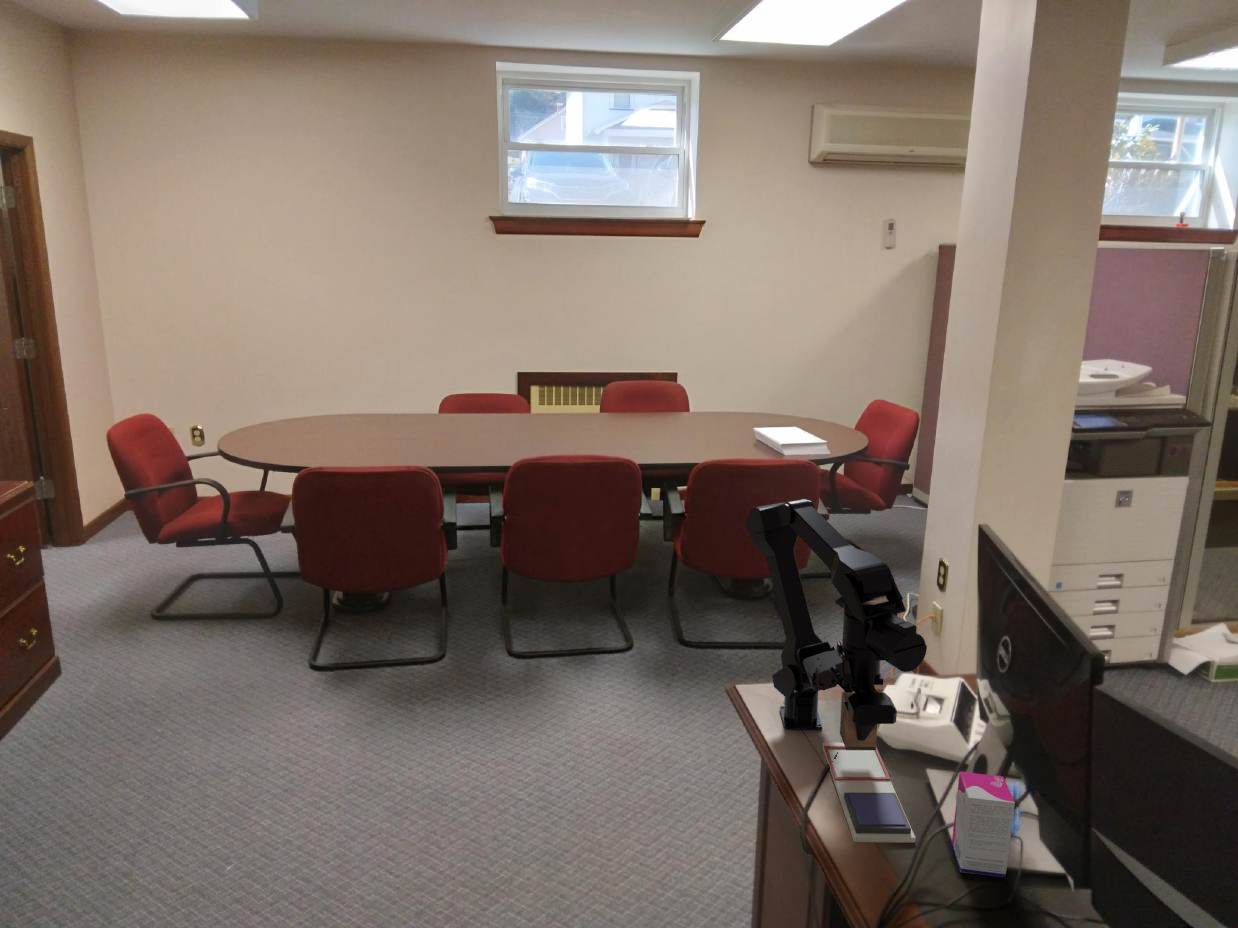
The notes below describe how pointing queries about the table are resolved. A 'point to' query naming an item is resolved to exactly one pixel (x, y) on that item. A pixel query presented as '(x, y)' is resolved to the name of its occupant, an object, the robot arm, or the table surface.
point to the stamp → (854, 730)
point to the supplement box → (982, 824)
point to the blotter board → (867, 795)
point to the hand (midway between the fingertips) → (857, 730)
